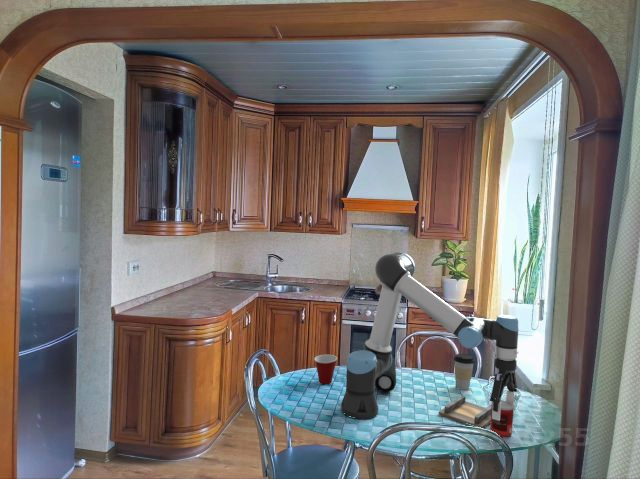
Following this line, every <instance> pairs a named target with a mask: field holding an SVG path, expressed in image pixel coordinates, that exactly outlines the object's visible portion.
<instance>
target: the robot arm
mask: <svg viewBox="0 0 640 479" xmlns="http://www.w3.org/2000/svg"><path fill="white" fill-rule="evenodd" d="M374 267H375V268H374V271H375V275H376V278H377V279H378V280H379V283H380V285H381V290H380V295H379V299H378V303H377V307H376V312H375V316H374V318H373V319H374V320H373V324H372V327H371V328H372V329H371V332H370V335H369V338H368V339H366V340H365V342H364V346H363V350H362V349H361V350H360V349H359V350H355V351H352V352H350V353H349V354H348V355H347V360H346V376H345V377H346V380H345V381H346V382H345V393H344V395H343V398H342V400H341V402H340V403H341V404H340V412H341V411H342V412H343V413H345V414H346V415H348V416H351V417H355V418H362V419H361V420H367V419H366V418H370V419H373V418H375V417H377V416H378V415H377V414H379V405H378V400H377V397H376V393H375V392H376V387H375V380H376V379H377V378H378V377H380V376H381V375H382V374H384V373H386V372H387V371H388V369H389V368H390V366H391V364H392V360H393V355H392V352H393V351H392V350H393V347H392V346H391V339H392V336H393V331H394V328H395V325H396V324H395V323H396V320H397V315H398V310H399V308H400V304H401V299H402V296H403V297H404V298H405V299H407V300H408V301H410V302H411V303H412V304H413V305H415V306H416V307H417V308H418V309H420V310H422V312H424V313H425V314H426V315H428V316H429V317H431V318H432V319H433V320H434V321H435V322H437V323H438V324H439V325H441V326H442V327H443V328H444V329H446V330H447V331H448V332H450V333H451V334H452V335H454V336H455V337H456V338H458V343H459V344H460V345H461V346H462V347H463V348H465V349H475V348H476V347H477V346H479V345H481V344H482V343H483V342H482V341H483V340H488V341H489V340H490V341H495V346H494V348H495V349H494V356H495V357H494V367H495V368H496V369H498V370H499V371H498V373H495V374H494V378H493V379H494V380H493V384H492V389H491V395H490V397H489V401H490V402H491V403H492V402H493V405H492V404H491V405H492V419H495V420H498V421H500V411H501V403H500V400H502V396H503V392H504V389H505V387H506V389H507V390H506V392H505V394H506V398H505V401H507V402H509V403H511V404H512V405H513V406H514V405H515V393H517V392H518V389H517V388H518V385H517V378H516V369H517V356H518V354H519V351H518V343H519V342H518V341H519V320H518V318H517V317H516V316H513V315H507V314H500V315H497V316H496V318H495V319H489V318H481V317H475V316H465V315H464V314H462V313H460V312H459V311H458V310H457V309H455V308H454V307H453V306H451V305H450V304H448V303H447V302H445V300H443V299H442V298H440V297H439V296H438V295H436V294H435V293H433V292H432V291H431V290H429V289H428V288H427V287H426V286H424V285H423V284H421V283H420V282H419V281H417V280H416V279H415V278H413V276H414V273H415V271H416V265H415V261H414V260H413V258H412V257H411V256H410V255H409V254H407V253H404V252H399V251H397V252H393V253H391V254H390V253H389V254H385V255H381V257H379V258H378V259H377V261H376V263H375V266H374ZM514 407H515V406H514ZM342 412H341V413H342ZM343 413H342V414H343ZM346 415H345V416H346ZM376 415H377V416H376ZM348 416H347V417H348ZM351 417H350V418H351ZM372 417H373V418H372ZM355 418H354V419H355Z"/></svg>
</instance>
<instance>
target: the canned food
mask: <svg viewBox="0 0 640 479" xmlns="http://www.w3.org/2000/svg"><path fill="white" fill-rule="evenodd" d="M500 403H501V411H500V421H498V420H495V419H492V406H491V423H490V424H489V429H490V431H491V430H492V431H494V432H496V433H497V434H498V435H500V436H501V437H500V438H509V437H511V436H512V434H513V425H514V424H513V422H514V409H515V408H514V407H515V406H513V405H512V404H511V403H509V402H507V401H506V400H503V399H501V400H500ZM491 405H493V402H492V401H491Z"/></svg>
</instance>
